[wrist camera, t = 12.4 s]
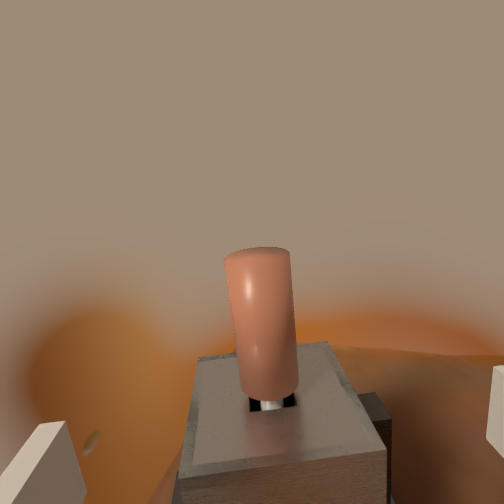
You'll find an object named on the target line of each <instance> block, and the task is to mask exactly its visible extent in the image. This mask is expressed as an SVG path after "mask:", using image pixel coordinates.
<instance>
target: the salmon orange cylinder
mask: <svg viewBox="0 0 504 504" xmlns="http://www.w3.org/2000/svg"><path fill="white" fill-rule="evenodd" d="M224 263H225V271H226V278H227V286H228V293H229V301H230V309H231V316H232V324H233V331H234V339H235V347H236V354H237V362H238V369H239V377H240V385H241V389H242V390H243V392H244V393H245V394H246V395H247V396H249V397H250V398H253V399H255V400H259V401H261V410H262V411H264V410H272V409H279V408H284V406H283V398H285V397H287V396H289V395H290V394H292V393H293V392H294V391H295V390H296V389H297V387H298V385H299V371H298V358H297V345H296V332H295V319H294V306H293V292H292V280H291V267H290V255H289V252H288V251H287V250H285V249H282V248H277V247H257V248H249V249H244V250H240V251H236V252H234V253H231V254H229V255H227V256H226V257H225V258H224Z"/></svg>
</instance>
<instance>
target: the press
mask: <svg viewBox="0 0 504 504" xmlns="http://www.w3.org/2000/svg"><path fill="white" fill-rule="evenodd" d="M297 358H298V371H299V385H298V387H297V389H296V390H295V391H294V392H293V393H292V394H290V395H289V396H287V397H285V398H283V406H284V408H279V409H272V410H264V411H262V410H261V401H259V400H255V399H253V398H250V397H249V396H247V395H246V394H245V393H244V392H243V390H242V389H241V385H240V377H239V369H238V362H237V354H236V353H230V354H222V355H214V356H206V357H199V358H198V362H197V368H196V374H195V380H194V386H193V392H192V398H191V403H190V410H189V415H188V421H187V427H186V433H185V439H184V445H183V451H182V457H181V463H180V469H179V471H178V472H177V475H176V481H175V487H174V493H173V499H172V504H395V502H394V500H393V498H392V495H391V435H392V418H391V417H390V415H389V414H388V412H387V411H386V409H385V407H384V406H383V404H382V403H381V401H380V400H379V398H378V396H377V395H376V393H375V392H374V393H366V394H359V395H357V394H356V392H355V391H354V389H353V387H352V385H351V383H350V382H349V380H348V378H347V376H346V374H345V372H344V371H343V369H342V367H341V365H340V363H339V361H338V360H337V358H336V356H335V354H334V352H333V350H332V349H331V347H330V345H329V343H328V341H324V342H316V343H308V344H300V345H297Z"/></svg>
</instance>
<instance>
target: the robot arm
mask: <svg viewBox="0 0 504 504" xmlns="http://www.w3.org/2000/svg"><path fill="white" fill-rule="evenodd" d="M486 439H487V440H488V441H489V443H490V444H491V445H492V446H493V447H494V448H495V449H496V450H497V451H498V452H499V453H500V454H501V456H502V457H503V458H504V365H502V366H494V367H493V376H492V386H491V395H490V405H489V415H488V424H487V434H486ZM86 493H87V490H86V487H85V484H84V480H83V478H82V474H81V471H80V467H79V464H78V461H77V457H76V454H75V451H74V448H73V444H72V441H71V438H70V435H69V432H68V428H67V425H66V421H61V422H52V423H46V424H39V425H38V427H37V428H36V429H35V431H34V432H33V434H32V435H31V436H30V437H29V439H28V440H27V441H26V443H25V444H24V445H23V447H22V448H21V450H20V451H19V452H18V454H17V455H16V456H15V458H14V459H13V460H12V462H11V463H10V465H9V466H8V467H7V468H6V470H5V471H4V472H3V474H2V475H1V476H0V504H82V502H83V500H84V498H85V495H86Z"/></svg>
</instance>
